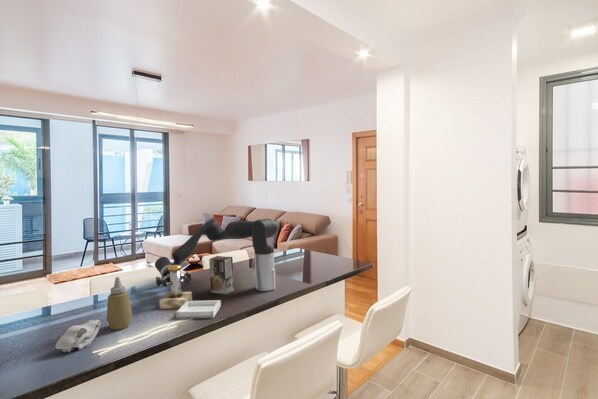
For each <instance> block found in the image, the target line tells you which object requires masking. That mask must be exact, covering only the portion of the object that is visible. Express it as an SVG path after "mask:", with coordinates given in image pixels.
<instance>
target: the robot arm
mask: <svg viewBox="0 0 598 399" xmlns="http://www.w3.org/2000/svg"><path fill="white" fill-rule="evenodd" d="M277 232H278V224H277V222H276V221H275V220H273V219H271V218H261V219H256V220H254V221H252V220H251V221H250V220H237V221H236V220H235V221H231V222H230V221H229V223H228V224H227V225H226V226H225V228H224V229H223V228H222V227H221V224H220V223H219V221H217V219H215V218H212V219H209V220H207V221H206V222H204V224H202V225H201V226H200V227H199V228H198V229H197V230H196V231H195V232H194V233H192V235H191V236H190V237H189V238H188V239H187V240H186V241H185V242H184V243H183V244H182V245H180V246H179V247H178V248H177V249H175V250H174V251H173V252H172V253H171V256H172V259H173V262H171V260H170V259H169V258H168V257H167V256H161V257H159V258H158V259H156V261H155V263H154V267H155V269H156V270H157V271H158V272H159V274H160V276H156V277H155V284H156V286H157V287H160V286H162V287H164V288H167V287H168V285H170V286H171V284H170V271H169V270H168V267H169V266H171V265H181V264H182V263H183V262H184V261H186V260H187V259H188V258H189V257H190V256H192V255H193V253H195V250H196V248H197V245H198V243H199V241H200V240H201V237H202V236H203V235H204V234H205V236H206V237H207V239H208V241H211V242H215V241H216V242H217V241H222V240H223V241H224V240H241V239H242V240H243V239H248V238H251V241H252V247H253V250H254V251H253V252H254V275H255V276H254V277H255V290H257V291H260V292H267V291H268V292H269V291H274V290H275V289H276V287H277V286H276V266H275V248H274V246H273V245H272V244H271V245H270V244H268V242H267V240H268V238H269V239H270V238H272V237H274V236H275V235H276V234H277ZM191 281H192V274H190V273H189V272H185V273H184V274H183V273H180V282H181V283H182V282H183V283H185V285H187V284H188V283H189V282H191Z"/></svg>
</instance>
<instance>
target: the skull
mask: <svg viewBox="0 0 598 399" xmlns="http://www.w3.org/2000/svg"><path fill="white" fill-rule="evenodd" d="M101 324H102V323H101V321H100V320H98V319H89V320H88V321H87V322H85V323H83V324H78V325H77V324H75V325H71V326H70V327H68V328H67V329H66V331H65V332H64V333H63V335H62V336H60V337H59V339H58V340H57V342H56V343H55V346H54V348H55V349H56V350H61V352H62V353H63V352H64V353H67V352H68V353H72V352H71V351H73V350H74V349H75V348H78V349H77V350H79V351H81V350H83V349H84V348H85V347H89V346H90V345H91V344H92V342H93V341H94V340H95V339H96V336H97V335H98V333H99V331H100V328H101Z"/></svg>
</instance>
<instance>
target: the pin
mask: <svg viewBox="0 0 598 399" xmlns="http://www.w3.org/2000/svg"><path fill="white" fill-rule="evenodd" d="M181 269H182V265H181V264H180V265H171V266H169V267H168V270H169V271H170V284H171V285H170V292H171V298H180V297H181V292H182V284H181V283H182V282H180V274H181Z"/></svg>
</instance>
